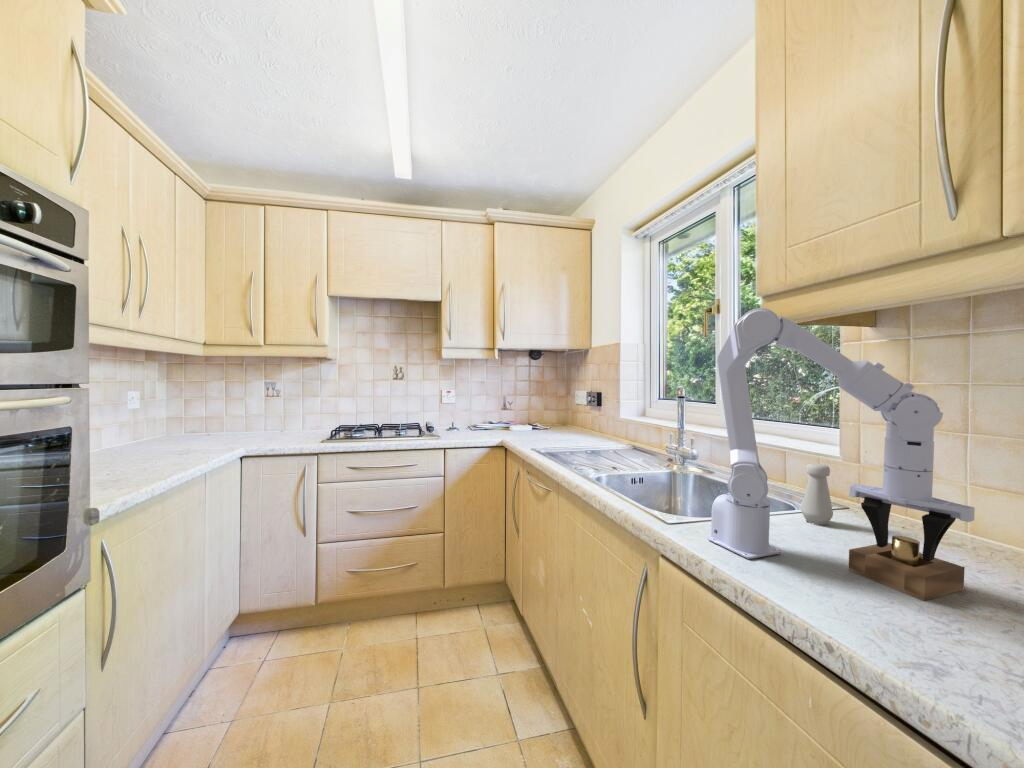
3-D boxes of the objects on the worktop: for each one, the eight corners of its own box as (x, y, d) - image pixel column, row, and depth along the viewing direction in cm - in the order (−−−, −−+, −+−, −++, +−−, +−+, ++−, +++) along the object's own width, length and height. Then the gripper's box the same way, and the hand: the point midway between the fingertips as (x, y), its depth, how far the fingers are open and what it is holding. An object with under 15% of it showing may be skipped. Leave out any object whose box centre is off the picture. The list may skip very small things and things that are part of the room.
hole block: (848, 570, 70) (849, 549, 70) (886, 561, 73) (887, 542, 73) (924, 600, 60) (925, 577, 60) (963, 589, 64) (964, 567, 64)
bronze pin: (886, 574, 67) (888, 537, 67) (894, 569, 69) (897, 534, 69) (912, 583, 65) (915, 545, 64) (920, 578, 66) (923, 541, 66)
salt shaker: (819, 517, 96) (821, 461, 96) (839, 526, 90) (841, 467, 90) (794, 517, 96) (796, 461, 96) (813, 526, 90) (815, 466, 90)
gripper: (841, 461, 71) (839, 540, 71) (964, 481, 58) (960, 577, 58) (860, 457, 74) (858, 533, 75) (980, 475, 62) (976, 566, 62)
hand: (904, 552), depth 67 cm, fingers open, 5 cm apart
